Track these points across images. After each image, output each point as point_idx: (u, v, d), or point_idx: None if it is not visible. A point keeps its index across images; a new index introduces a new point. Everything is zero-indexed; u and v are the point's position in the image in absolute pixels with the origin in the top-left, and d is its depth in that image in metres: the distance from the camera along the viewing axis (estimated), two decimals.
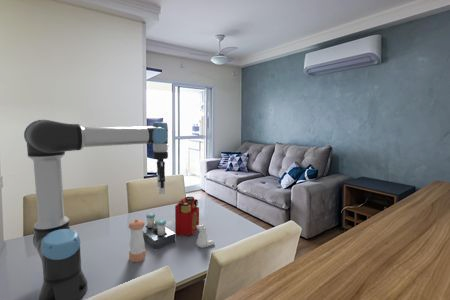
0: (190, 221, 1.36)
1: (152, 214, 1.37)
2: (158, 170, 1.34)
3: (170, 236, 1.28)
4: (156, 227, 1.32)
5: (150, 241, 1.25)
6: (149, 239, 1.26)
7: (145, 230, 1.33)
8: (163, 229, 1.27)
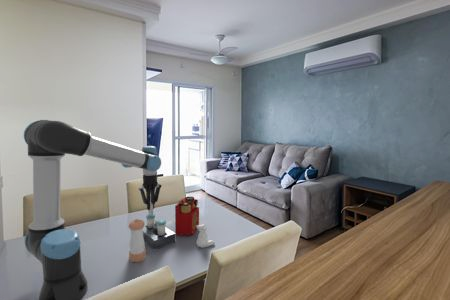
0: (190, 221, 1.36)
1: (152, 215, 1.37)
2: None
3: (170, 236, 1.28)
4: (156, 227, 1.32)
5: (150, 241, 1.25)
6: (149, 239, 1.26)
7: (145, 230, 1.33)
8: (163, 229, 1.27)
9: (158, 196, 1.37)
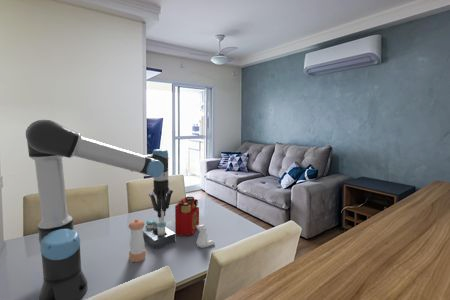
0: (190, 221, 1.36)
1: (152, 221, 1.38)
2: (161, 201, 1.28)
3: (170, 236, 1.28)
4: (155, 227, 1.31)
5: (150, 241, 1.25)
6: (149, 239, 1.26)
7: (145, 230, 1.33)
8: (163, 230, 1.27)
9: (169, 202, 1.29)
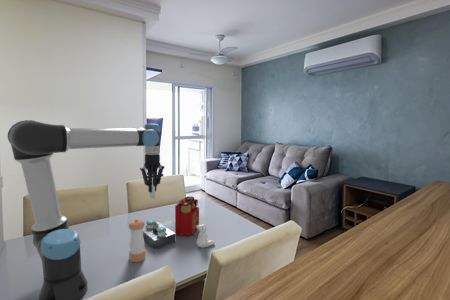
0: (190, 221, 1.36)
1: (152, 221, 1.38)
2: None
3: (170, 236, 1.28)
4: (154, 227, 1.32)
5: (150, 241, 1.25)
6: (149, 239, 1.26)
7: (145, 230, 1.33)
8: None
9: (160, 178, 1.29)
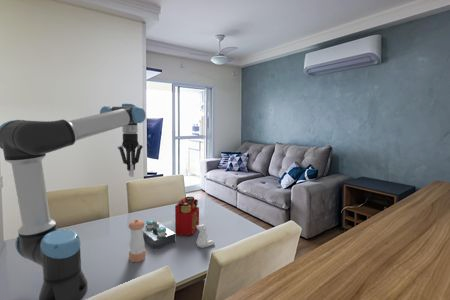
0: (190, 221, 1.36)
1: (152, 221, 1.38)
2: (131, 155, 1.32)
3: (170, 236, 1.28)
4: (154, 227, 1.31)
5: (150, 241, 1.25)
6: (149, 239, 1.26)
7: (145, 230, 1.33)
8: None
9: None
